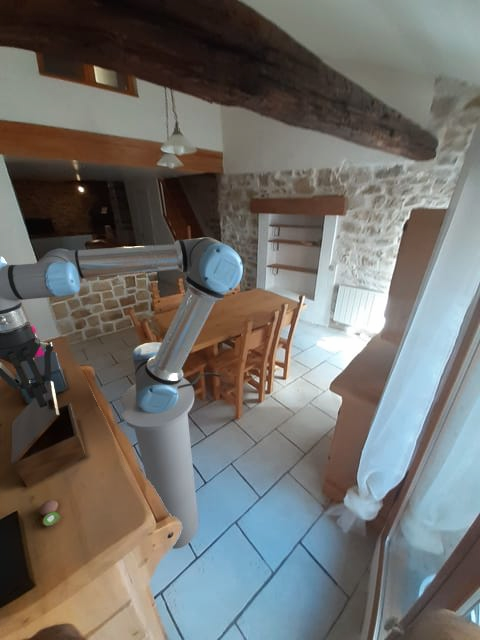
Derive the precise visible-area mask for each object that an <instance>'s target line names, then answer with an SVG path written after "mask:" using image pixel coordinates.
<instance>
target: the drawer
mask: <svg viewBox="0 0 480 640" xmlns="http://www.w3.org/2000/svg"><path fill="white" fill-rule="evenodd" d="M30 381H31V383H33V382H36V379H34V380H30ZM50 381H52V382H53V384H54V389H55V394H58V393H60V391H61V392H64V391H65V387H64V385H63V382H62V379H61V377H60V374H59V372H56V373H52V374H51V379H50V380H47V381H46V382H45V384H46V386H47V385H48V383H49V382H50ZM63 390H64V391H63ZM21 391H22V393H23V395H24V397H25V399H26V401H27V404H30V403H31V402H32V401H33V400H34V398H35V397H34V398H30V397H29V395H28V393H27V391H26V390H25V389H21Z"/></svg>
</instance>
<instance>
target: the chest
mask: <svg viewBox="0 0 480 640" xmlns="http://www.w3.org/2000/svg"><path fill="white" fill-rule="evenodd" d="M58 411H59V416H58V417H57V418H56V419H55V421H54V422H53V423H52V424H51V425H50V426H49V427H48V428H47V429H46V431H45V432H44V433H43V434H42V435H41V436H40V437H39V438H38V439H37V441H36V442H35V443H34V444H33V445H32V446H31V447H30V448H29V449H28V450H27V452H26V453H25V454H24V455H23V456H22V457H21V458H20V459H19V460H18V462H17V463H16V464H13V466H14V468H15V469H16V472H17V473H18V474H19V476H20V477H21V480H22V481H23V483H24V484H25V486H26V488H28V487H30V486H32V485H34V484H36V483H38V482H39V481H43V480H44V479H46V478H48V477H49V476H52V475H54V474H57V473H58V472H60V471H61V470H64V469H66V468H68V467H69V466H72V465H73V464H75V463H77V462H79V461H81V460H83V459H86V458H87V454H86V450H85V447H84V441H83V439H82V434H81V431H80V427H79V423H78V420H77V417H76V414H75V412H74V409H73V406H72V404H71V402H67V403H65V404H62V405H60V406H58Z"/></svg>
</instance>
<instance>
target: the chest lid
mask: <svg viewBox="0 0 480 640" xmlns="http://www.w3.org/2000/svg"><path fill="white" fill-rule="evenodd" d="M46 387H47V393H45V394H44V395H45V397H46V400H47V406H44V407H42V408H40V406H39V404H38V402H37V400H36V397H35V398H34V400H33V401H32V402H30V403H28V404H27V406H26V407H25V408H24V409H23V410H22V411H21V412H20V413H19V414H18V415H17V417H15V419H13V421H12V424H11V427H12V429H11V433H12V434H11V465H14V464H16V463H17V462H18V460H19V459H20V458H21V457H22V456H23V455H24V454H25V453H26V452H27V450H28V449H29V448H30V447H31V446H32V445H33V444H34V443H35V442H36V441H37V439H38V438H39V437H40V436H41V435H42V434H43V433H44V432H45V431H46V429H47V428H48V427H49V426H50V425H51V424H52V423H53V422H54V421H55V419H56V418H57V417H58V416H59V411H58V407H59V406H58V401H57V395H56V394H57V393H55V389H54V384H53V382H52V381H50V382H49V383H48V385H47V386H46Z"/></svg>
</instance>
